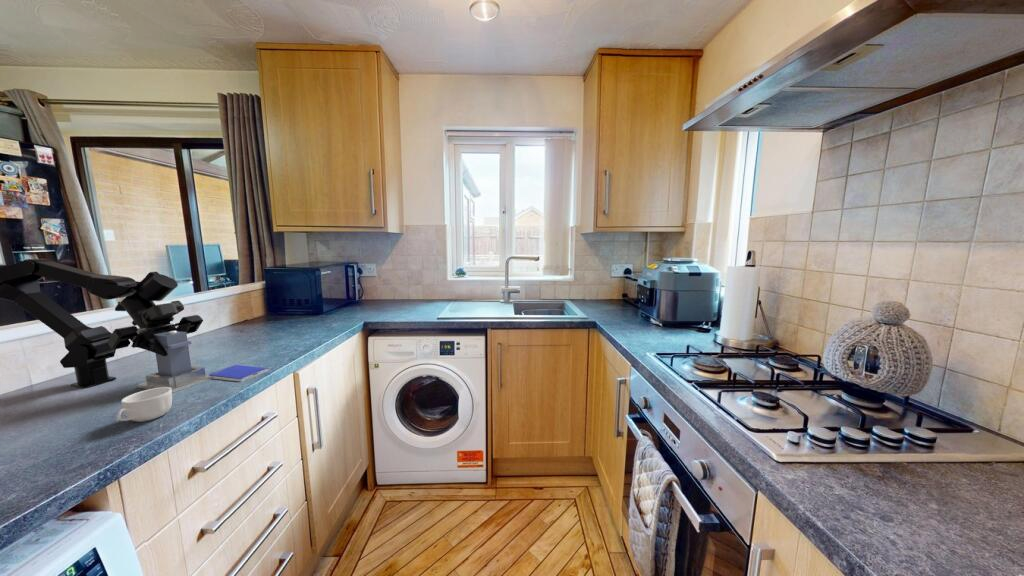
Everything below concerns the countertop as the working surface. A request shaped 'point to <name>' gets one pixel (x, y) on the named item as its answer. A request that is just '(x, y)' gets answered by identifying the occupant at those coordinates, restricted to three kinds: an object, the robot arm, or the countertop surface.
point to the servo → (173, 353)
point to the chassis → (176, 380)
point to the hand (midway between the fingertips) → (177, 352)
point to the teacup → (146, 404)
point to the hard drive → (238, 373)
